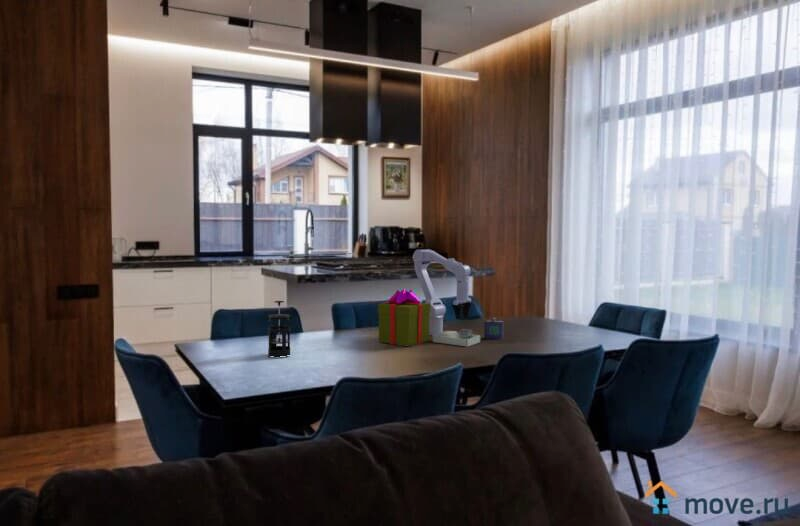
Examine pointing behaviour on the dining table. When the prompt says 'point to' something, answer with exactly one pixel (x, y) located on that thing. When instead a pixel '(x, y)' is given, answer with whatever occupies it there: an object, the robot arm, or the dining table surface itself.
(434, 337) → the tote
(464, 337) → the tin
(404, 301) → the gift box
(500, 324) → the flask
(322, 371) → the dining table surface
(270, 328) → the french press
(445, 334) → the egg box
